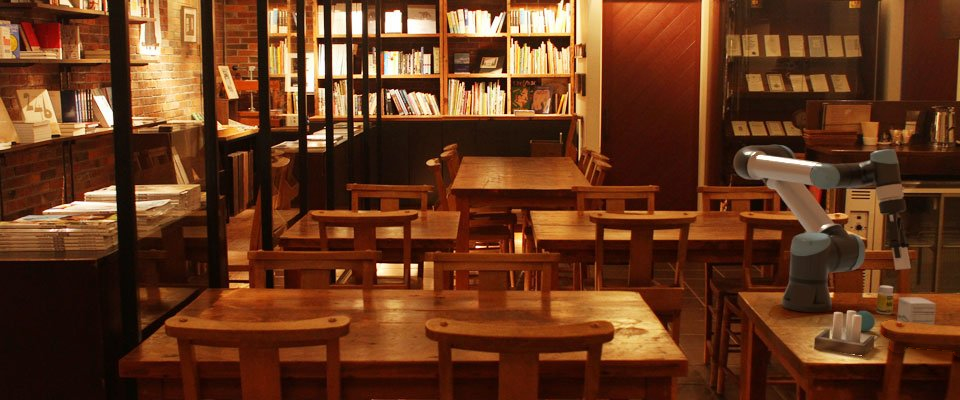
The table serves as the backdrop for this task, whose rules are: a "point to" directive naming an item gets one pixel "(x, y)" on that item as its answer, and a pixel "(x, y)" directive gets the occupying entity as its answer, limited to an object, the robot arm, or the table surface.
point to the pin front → (849, 324)
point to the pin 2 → (856, 328)
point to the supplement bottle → (885, 300)
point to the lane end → (842, 344)
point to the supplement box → (916, 310)
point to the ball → (866, 320)
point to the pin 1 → (837, 325)
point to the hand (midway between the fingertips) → (903, 269)
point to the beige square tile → (862, 338)
